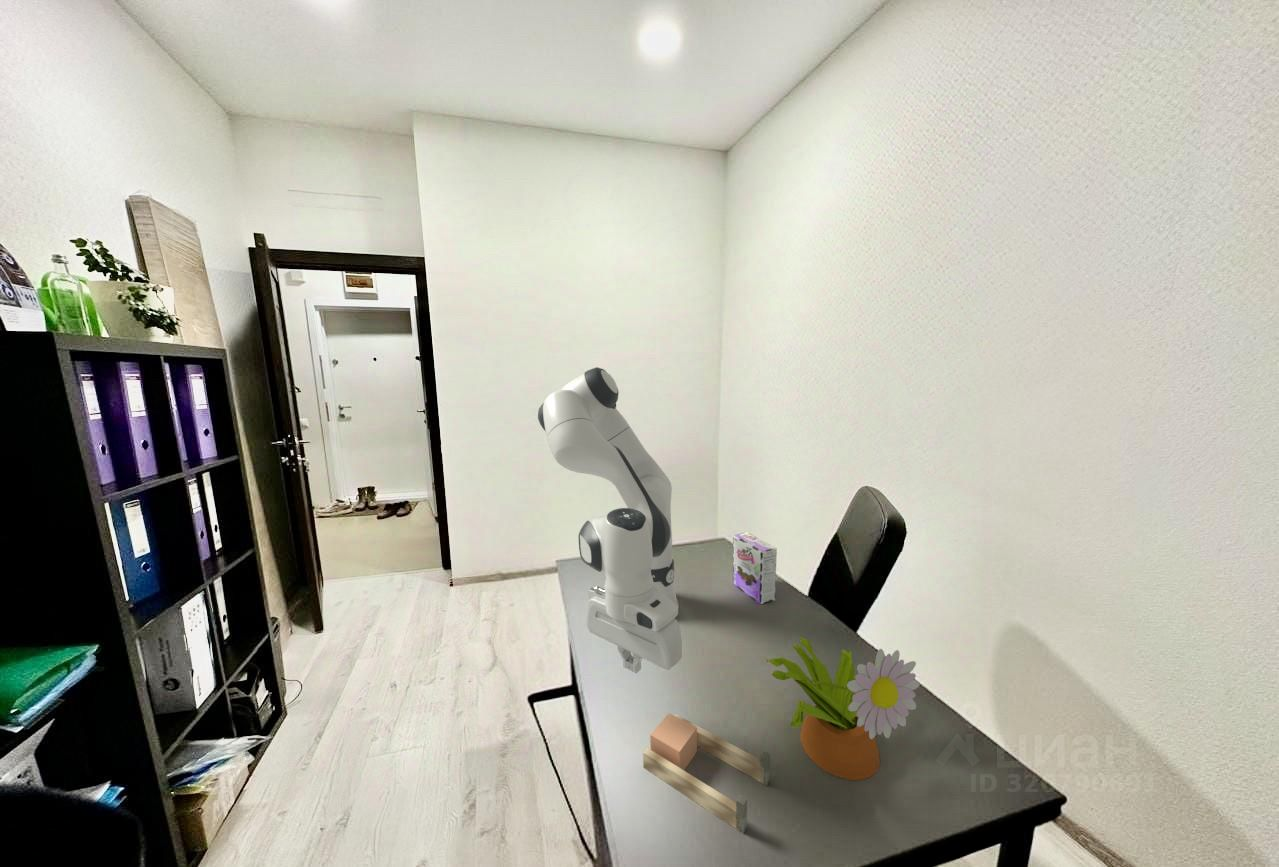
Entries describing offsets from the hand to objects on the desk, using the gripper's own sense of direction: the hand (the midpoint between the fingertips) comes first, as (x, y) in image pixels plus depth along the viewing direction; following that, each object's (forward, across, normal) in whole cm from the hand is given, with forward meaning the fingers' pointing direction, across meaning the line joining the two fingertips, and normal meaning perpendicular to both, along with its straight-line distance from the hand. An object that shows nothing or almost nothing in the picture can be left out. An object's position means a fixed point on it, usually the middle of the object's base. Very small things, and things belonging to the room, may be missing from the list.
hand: (632, 668), depth 82 cm
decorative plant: (+14, +31, +22) cm, 40 cm away
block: (+14, +9, +1) cm, 16 cm away
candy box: (+14, -4, +62) cm, 64 cm away
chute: (+14, +15, +1) cm, 20 cm away
